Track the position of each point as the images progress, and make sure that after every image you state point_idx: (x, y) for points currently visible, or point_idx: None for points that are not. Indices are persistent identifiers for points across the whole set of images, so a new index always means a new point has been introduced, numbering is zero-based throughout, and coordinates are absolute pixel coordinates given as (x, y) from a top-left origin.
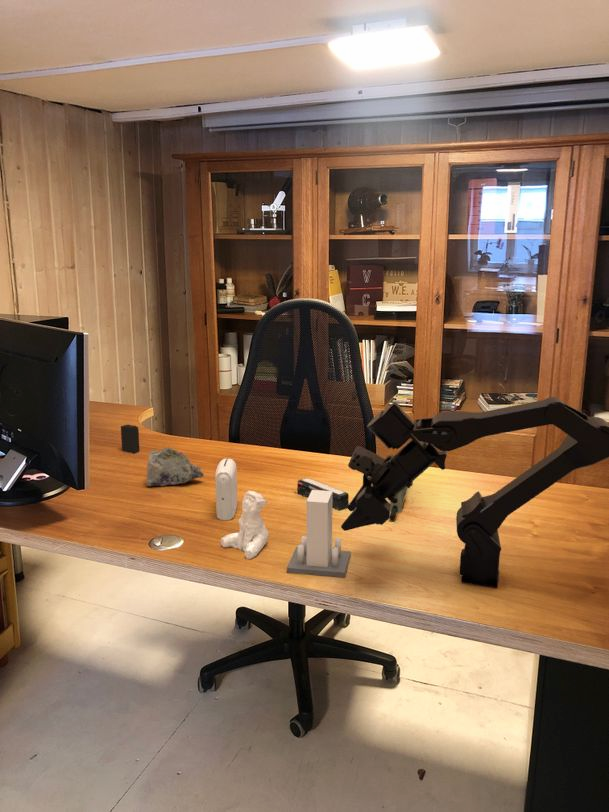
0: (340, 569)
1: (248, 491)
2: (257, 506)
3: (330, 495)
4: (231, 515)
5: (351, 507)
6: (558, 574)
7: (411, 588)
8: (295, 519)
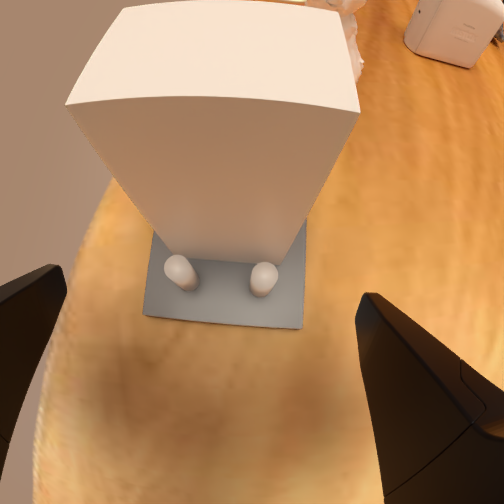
0: (162, 300)
1: None
2: None
3: (238, 95)
4: (416, 47)
5: (364, 322)
6: None
7: (117, 487)
8: (470, 162)
